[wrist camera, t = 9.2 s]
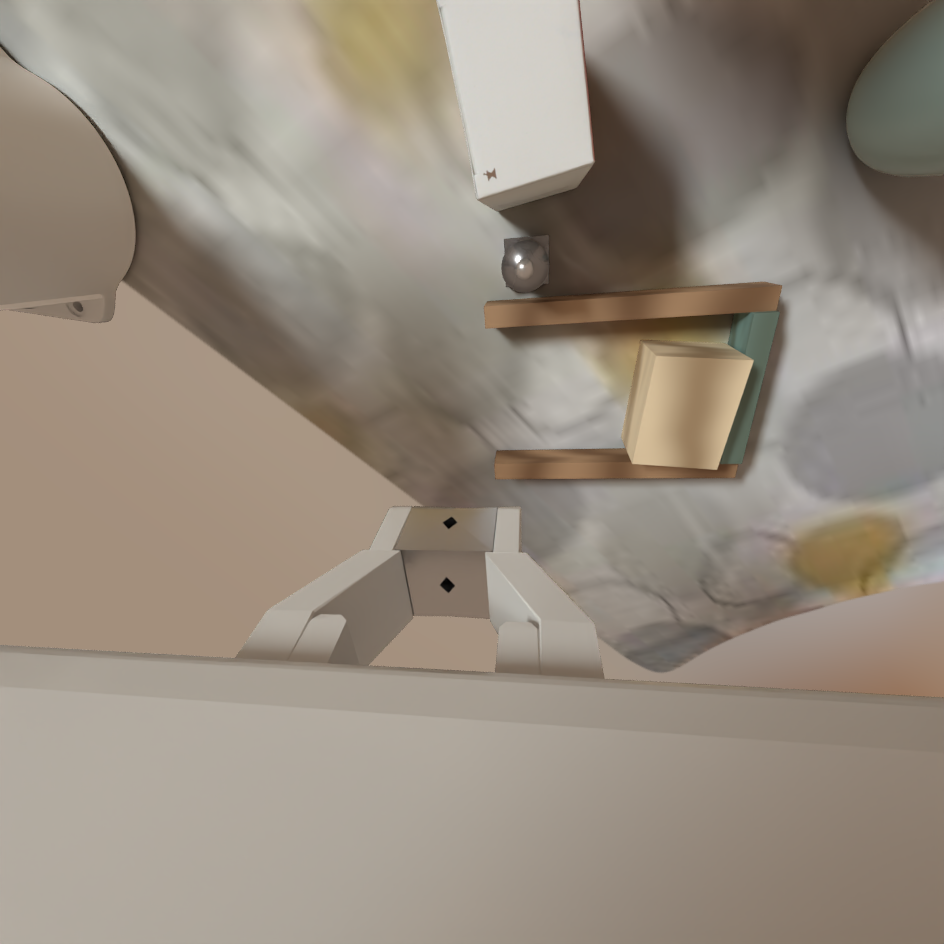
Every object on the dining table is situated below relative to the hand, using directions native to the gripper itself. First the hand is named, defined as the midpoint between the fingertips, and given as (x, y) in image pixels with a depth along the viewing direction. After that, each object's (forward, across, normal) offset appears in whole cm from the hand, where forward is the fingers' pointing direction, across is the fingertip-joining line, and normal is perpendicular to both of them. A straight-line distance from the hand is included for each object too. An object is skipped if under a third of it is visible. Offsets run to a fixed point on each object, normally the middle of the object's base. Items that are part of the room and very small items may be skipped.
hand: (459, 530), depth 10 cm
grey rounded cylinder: (+26, -2, -4) cm, 27 cm away
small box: (+26, -2, -11) cm, 29 cm away
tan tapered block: (+26, -13, +6) cm, 30 cm away
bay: (+26, -8, +6) cm, 28 cm away
